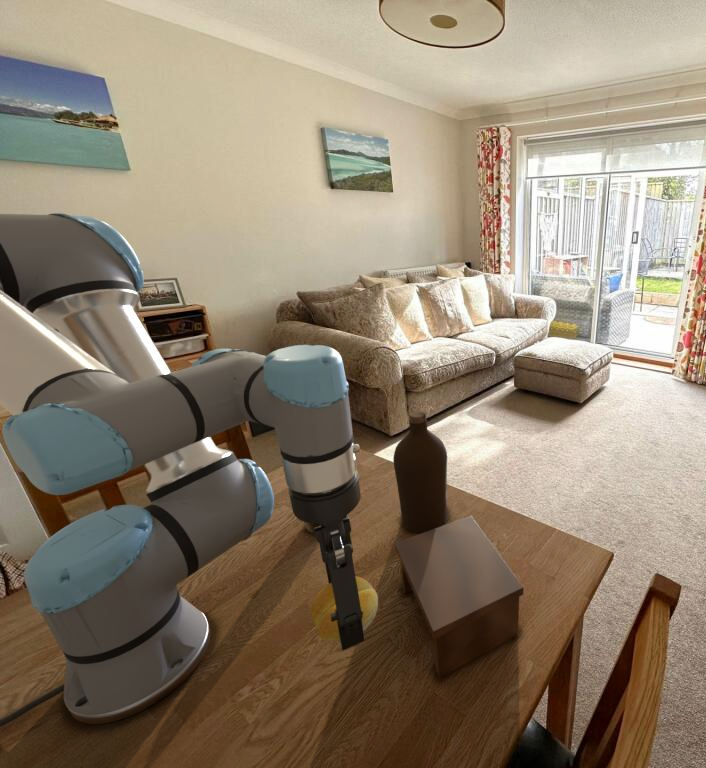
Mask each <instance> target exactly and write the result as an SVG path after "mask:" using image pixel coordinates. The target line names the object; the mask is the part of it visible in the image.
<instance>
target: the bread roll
mask: <svg viewBox="0 0 706 768" xmlns="http://www.w3.org/2000/svg"><path fill="white" fill-rule="evenodd" d="M355 577H356V583H357V588H358V594H359V600H360V606H361V610H362V611H363V617H362V619H361V620H362V627H363V632H365V631H366V630H367V629H368V627H370V625H371V624H372V622H373V621H374V619H376V618H375V617H376V616H377V614H378V609H379V596H378V593H377V591H376V589H374V587H373V586H372V585H371V584H370V582H368V580H367V579H364V578H363V577H361V576H358V575H357V576H356V575H355ZM335 609H336V604H335V599H334V593H333V588H332V583H330V584H329V583H328V584H326V585H325V586H324V587H323V588H321V590H320V591H318V593H317V594H316V596H315V597H314V598H313V601H312V603H311V607H310V616H311V619H312V621H313V623H314V624H315V625H316V627H317V635H318V636H319V637H320V639H322V641H325V642H328V643H329V642H341V641H340V635H339V629H338V624H337V620H335V621H333V622H332V621H331V616H330V614H333V613H335Z"/></svg>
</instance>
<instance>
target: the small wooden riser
mask: <svg viewBox="0 0 706 768" xmlns="http://www.w3.org/2000/svg"><path fill="white" fill-rule="evenodd" d="M394 551H395V553H396V555H397V557H398V559H399V567H400V574H401V584H402V585H401V586H402V589H403V592H404V594H408V593H410V592H413V595H414V597H415V600H416V601H417V604H418V606H419V609H420V611H421V613H422V616H423V619H424V620H425V623H426V625H427V627H428V630H429V632H430V635H431V637H432V639H433V651H434V664H435V671H436V673H437V676H438V678H439V679H440V678H442V677H444V676H446V675H448V674H450V673H451V672H453V671H454V670H457V669H459V668H460V667H462V666H464V665H466V664H469V663H470V662H471V661H473V660H475V659H476V658H479V657H480V656H482V655H485V654H486V653H488V652H489V651H491V650H493V649H495V648H496V647H499V646H500V645H502V644H504V643H505V642H508V641H510V640H511V639H513V638H515V637H516V636H518V635H519V618H520V617H519V616H520V613H519V612H520V597H522V596H524V586H523V584H522V583H521V581H519V579H518V578H517V576H516V575H515V574H514V572H513V570H512V569H511V568H510V567H509V565H508V564H507V563H506V561H505V560H504V558H503V557H502V556H501V554H500V553H499V552H498V550H497V549H496V547H495V546H494V545H493V543H492V542H491V541H490V539H489V538H488V537H487V535H486V533H485V532H484V531H483V530H482V529H481V527H480V525H479V524H478V523H477V521H476V520H475V518H473V516H472V515H469V516H466V517H463V518H460V519H458V520H454V521H452V522H449V523H446V524H443V525H441V526H440V527H438V528H435V529H433V530H430V531H427V532H420V533H418V534H416V535H413V536H411V537H407V538H405V539H403V540H400V541H397V542H395V543H394Z"/></svg>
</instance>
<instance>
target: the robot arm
mask: <svg viewBox="0 0 706 768" xmlns="http://www.w3.org/2000/svg"><path fill="white" fill-rule="evenodd" d="M140 265H141V262H140V260H139V258H138V256H137V254H136V253H135V250H134V249H133V247H132V246H131V245H130V243H129V242H128V241H127V240H126V238H125V237H124V236H123V235H122V234H121V233H120V232H119V231H118V230H117V229H115V228H114V227H113V226H112V225H110V224H108V223H107V222H105V221H102V220H100V219H98V218H95V217H93V216H88V215H87V216H85V215H71V214H66V213H61V212H59V213H49V214H27V213H26V214H24V213H23V214H21V213H0V406H1V407H2V408H3V409H5V410H6V411H7V412H8V413H10V414H11V415H12V416H10V417H8V418H7V419H6V420H5V421H4V423H3V426H2V430H1V432H2V433H1V434H2V437H3V441H4V444H5V446H6V449H7V451H8V452H9V454H10V456H11V458H12V460H13V461H14V463H15V464H16V466H17V468H18V469H19V470H20V471H22V472H23V473H24V475H25V476H26V478H27V479H28V481H29V482H30V483H31V484H32V485H33V486H34V487H35V488H37V489H38V490H40V491H41V492H43V493H46V494H48V495H53V496H65V495H70V494H73V493H75V492H78V491H81V490H83V489H87V488H90V487H92V486H95V485H97V484H100V483H104V482H106V481H109V480H113V479H117V478H120V477H122V476H124V475H125V474H126V473H128V472H131V471H133V470H135V469H138V468H140V467H142V466H144V468H145V469H146V470H147V473H148V474H149V475H150V480H149V483H148V485H147V487H146V489H145V491H144V493H145V495H146V497H147V499H148V500H149V501H150V504H149V505H147V506H145V507H142V506H140V505H137V504H121V505H114V506H112V507H111V508H110V509H99V510H97V511H95V512H92V513H90V514H89V513H88V514H86V515H85V516H83V517H81V518H79V519H77V520H75V521H73V522H71V523H69V524H68V525H65V526H64V527H63V528H61V529H59V530H58V531H57V532H55V533H54V534H53V535H51V536H50V537H49V538H47V539H46V540H45V541H44V542H43V543H42V544H41V545H40V546H39V547H38V548H37V549H36V550H35V552H34V554H33V555H32V556H31V557H30V558H29V559H28V561H27V564H26V565H25V568H24V573H23V579H24V583H25V586H26V590H27V591H28V594H29V596H30V603H31V605H32V607H33V608H34V609H35V610H36V612H38V613H40V614H41V616H42V617H43V620H44V621H45V623H46V625H47V627H48V628H49V630H50V632H51V634H52V636H53V638H54V639H55V641H56V643H57V645H58V647H59V648H60V650H61V652H62V653H63V655H64V657H65V660H66V661H65V670H64V671H65V672H64V683H63V684H62V685H60V686H58V687H56V688H54V689H52V690H50V691H49V692H47V693H45V694H43V695H41V696H39V697H38V698H36V699H34V700H32V701H30V702H29V703H27V704H25V705H23V706H22V707H20V708H19V709H17V710H15V711H14V712H11V713H9V714H8V715H6V716H4V717H2V718H0V727H3V726H4V725H6V724H8V723H11V722H12V721H14V720H16V719H18V718H19V717H21V716H22V715H24V714H26V713H27V712H29V711H31V710H32V709H34V708H36V707H37V706H39V705H41V704H43V703H45V702H46V701H47V702H48V701H49V700H50V699H52V698H54V697H56V696H57V695H60V694H61V693H63V702H64V704H65V706H66V708H67V711H69V713H70V715H71V716H72V717H73V718H74V719H75V720H76V721H78V722H80V723H83V724H88V725H103V724H109V723H113V722H118V721H120V720H124V719H127V718H129V717H131V716H134V715H136V714H138V713H140V712H142V711H144V710H146V709H148V708H149V707H151V706H153V705H155V704H156V703H157V702H159V701H161V700H162V699H163V698H165V697H166V696H167V695H169V694H171V693H172V692H173V691H174V690H175V689H177V688H178V687H179V686H180V685H181V684H182V683H183V682H184V681H185V680H187V678H188V677H189V676H190V675H191V674H193V672H194V671H195V669H197V667H198V666H199V664H201V662H202V660H203V658H204V657H205V655H206V653H207V651H208V648H209V647H210V643H211V635H212V633H211V628H210V624H209V622H208V619H207V617H206V615H205V614H204V613H203V612H202V611H201V610H200V609H198V608H197V607H195V606H194V605H193V604H192V603H191V602H189V601H188V600H187V599H185V598H184V597H183V596H181V594H180V592H179V589H178V587H177V585H178V584H181V582H183V581H185V579H187V578H189V577H191V576H192V575H193V574H195V573H197V572H198V571H200V570H201V569H202V568H205V566H207V565H209V564H210V563H211V562H213V561H214V560H215V559H217V558H218V557H220V556H221V555H223V554H225V553H226V552H227V551H229V550H230V549H232V548H233V547H235V546H237V545H238V544H240V543H241V542H243V541H246V540H248V539H249V538H250V537H251V536H252V535H253V534H254V533H256V532H258V531H259V530H260V529H262V527H263V526H265V525H266V524H267V523H268V522H269V521H270V519H271V518H272V516H273V513H274V507H275V497H274V491H273V488H272V484H271V482H270V480H269V478H268V475H267V474H266V473H265V471H264V469H262V467H260V466H258V464H257V463H256V462H255V461H254V460H252V459H249V458H239V459H238V458H237V457H236V454H235V453H234V451H233V450H229V449H224V448H221V447H219V446H217V445H216V444H215V442H214V439H212V437H213V436H215V435H217V434H220V433H223V432H225V431H227V430H230V429H232V428H235V427H237V426H239V425H242V424H244V423H246V422H253V423H256V424H260V425H263V426H265V427H271V428H274V429H275V432H276V437H277V442H278V446H279V450H280V451H279V452H280V459H281V464H282V468H283V474H284V478H285V482H286V485H287V487H288V495H289V499H290V500H289V501H290V504H291V505H290V506H291V510H292V513H293V515H294V516H295V518H296V519H297V520H299V521H300V522H303V523H304V522H306V523H311V524H313V526H314V527H315V528H314V531H315V533H314V537H315V540H316V543H318V544H319V549H320V554H321V560H322V562H323V564H325V565H324V566H325V570H326V571H325V572H326V576H327V582H328V584H330V583H332V588H333V593H334V599H335V604H336V609H335V613H333V614H330V616H331V621H332V622H333V621H335V620H337V624H338V629H339V635H340V641H339V642H340V646H341V650H342V652H344V651H346V650H347V649H350V648H352V647H354V646H357V645H359V644H361V643H363V642H365V633H364V631H363V627H362V620H361V619H362V617H363V611H362V610H361V606H360V600H359V594H358V588H357V583H356V577H355V576H356V571H355V565H354V560H353V559H354V558H353V553H354V548H353V542H352V537H351V532H352V526H351V520H350V517H349V516H348V515H349V514H350V513H352V512H353V511H354V510H355V509H356V507H357V506H358V504H359V502H360V500H361V486H360V479H359V473H358V470H357V459H356V455H355V453H358V452H360V451H361V447H360V444H358V443H354V434H353V424H352V415H351V407H350V398H349V397H350V396H349V386H350V385H349V382H348V381H347V376H346V372H345V367H344V366H345V365H344V361H343V358H342V355H341V354H340V353H339V352H338V351H337V350H336V349H335V348H333V347H330V346H328V345H322V344H321V345H320V344H316V345H311V344H298V345H290V346H286V347H282V348H278V349H275V350H274V351H271V352H270V353H268V354H267V355H263V354H259V353H256V352H255V351H254V352H253V351H250V350H243V349H240V348H238V349H237V348H235V349H234V348H217V349H211V350H210V351H207V352H205V353H204V354H203V355H202V356H200V357H199V358H197V360H196V361H194V362H193V363H192V365H191V366H189V367H186V368H182V369H179V370H174V371H171V368H170V367H169V365H168V363H167V362H166V361H165V359H164V357H163V356H162V354H161V353H160V351H159V348H158V347H157V346H156V344H155V342H154V341H153V340H152V339H153V338H151V336H150V334H149V332H148V331H147V329H146V328H145V326H144V325H143V322H142V321H141V319H140V317H139V316H138V314H137V313H136V308H137V306H138V304H139V303H140V301H141V296H140V294H139V292H140V291H141V290H142V289H143V287H144V283H145V276H144V271H143V270H142V269H141V268H140ZM347 516H348V517H347Z"/></svg>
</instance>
